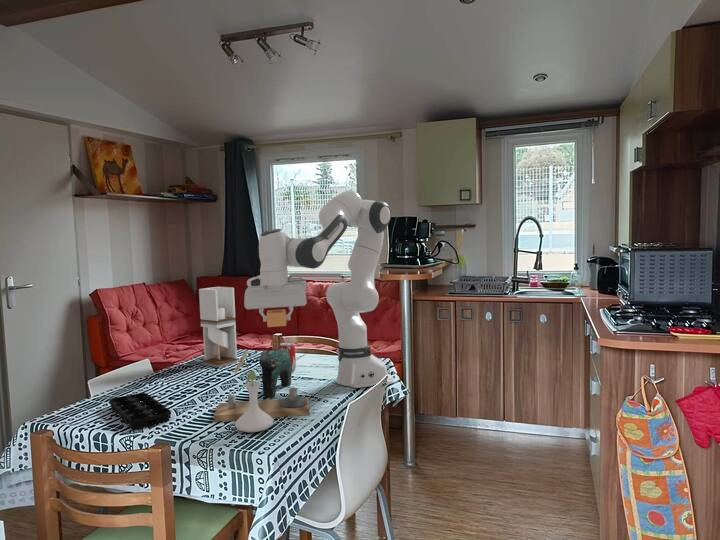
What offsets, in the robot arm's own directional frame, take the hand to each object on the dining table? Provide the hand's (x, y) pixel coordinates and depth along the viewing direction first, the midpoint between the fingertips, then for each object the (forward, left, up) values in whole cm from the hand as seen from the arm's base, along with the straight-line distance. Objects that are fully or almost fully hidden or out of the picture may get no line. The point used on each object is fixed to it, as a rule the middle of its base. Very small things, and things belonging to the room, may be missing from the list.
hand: (277, 320), depth 169 cm
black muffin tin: (+47, -6, -31) cm, 56 cm away
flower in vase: (+8, +16, -30) cm, 35 cm away
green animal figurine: (+2, -22, -30) cm, 37 cm away
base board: (+6, 0, -30) cm, 31 cm away
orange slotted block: (0, 0, -1) cm, 1 cm away
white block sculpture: (+29, -71, -30) cm, 82 cm away
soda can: (-2, -50, -30) cm, 58 cm away
